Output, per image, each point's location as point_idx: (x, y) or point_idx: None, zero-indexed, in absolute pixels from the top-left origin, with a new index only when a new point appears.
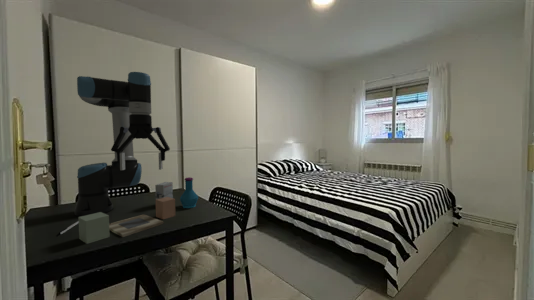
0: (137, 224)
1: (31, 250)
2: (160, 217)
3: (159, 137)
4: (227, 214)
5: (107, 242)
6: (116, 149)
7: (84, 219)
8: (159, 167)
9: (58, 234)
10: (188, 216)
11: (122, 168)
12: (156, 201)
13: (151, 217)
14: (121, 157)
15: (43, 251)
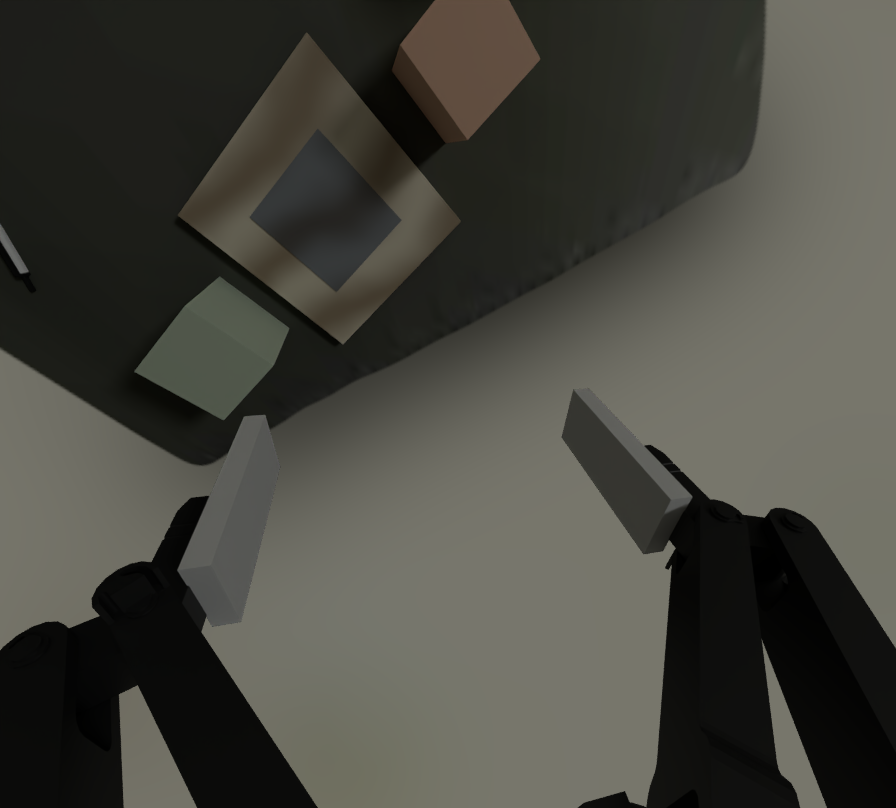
0: (353, 245)
1: (88, 401)
2: (427, 117)
3: (832, 787)
4: (744, 139)
5: (313, 373)
6: (126, 681)
7: (197, 401)
8: (573, 447)
9: (25, 281)
10: (568, 121)
11: (277, 477)
12: (409, 61)
13: (384, 132)
14: (248, 572)
15: (143, 411)
